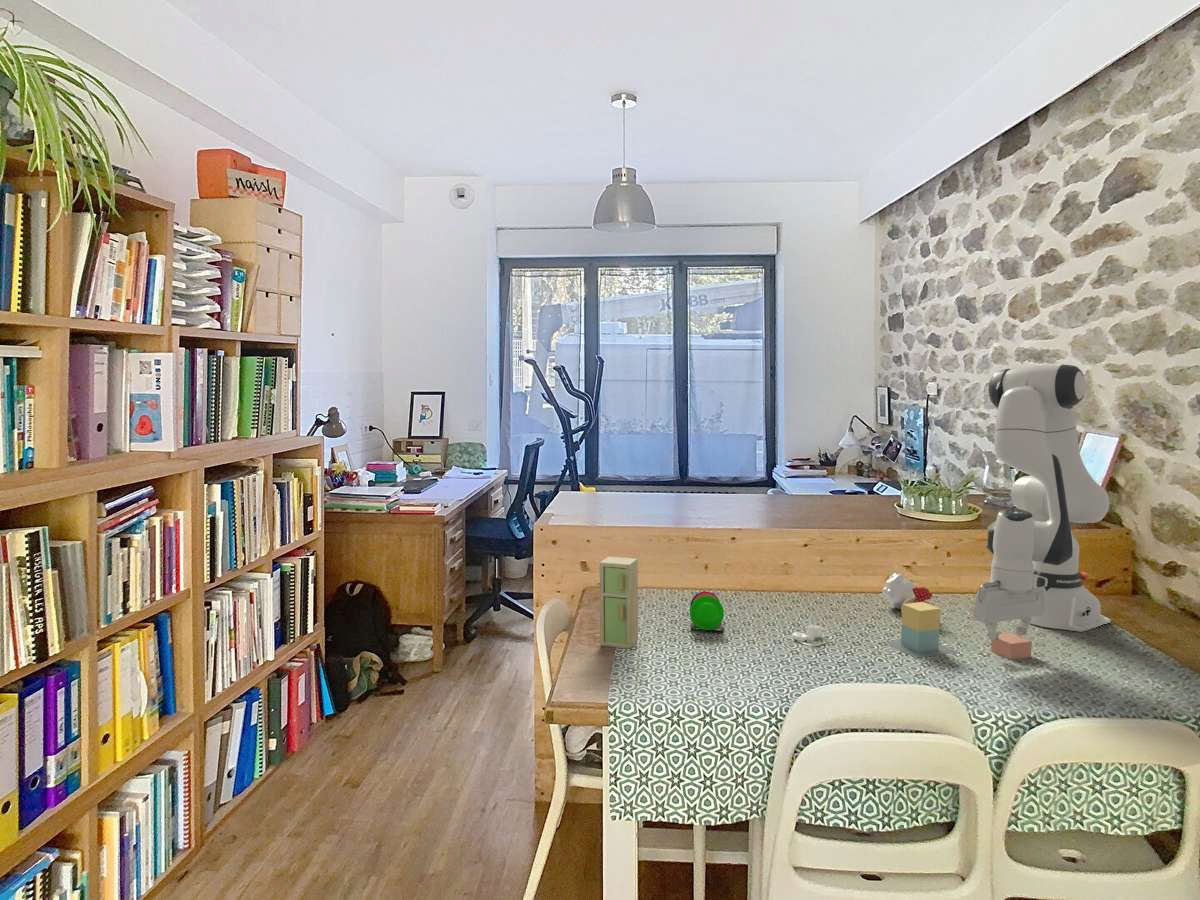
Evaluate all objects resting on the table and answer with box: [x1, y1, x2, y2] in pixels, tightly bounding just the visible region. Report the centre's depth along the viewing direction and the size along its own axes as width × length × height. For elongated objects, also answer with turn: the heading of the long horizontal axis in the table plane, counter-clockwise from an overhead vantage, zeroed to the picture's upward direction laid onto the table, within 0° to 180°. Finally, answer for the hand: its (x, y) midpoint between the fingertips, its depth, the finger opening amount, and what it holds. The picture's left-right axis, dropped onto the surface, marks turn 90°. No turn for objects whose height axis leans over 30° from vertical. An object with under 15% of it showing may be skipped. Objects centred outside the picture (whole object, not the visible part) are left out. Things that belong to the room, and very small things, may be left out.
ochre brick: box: [901, 602, 941, 632], centre depth 200 cm, size 6×6×5 cm
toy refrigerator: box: [599, 556, 639, 649], centre depth 205 cm, size 8×7×21 cm
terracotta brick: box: [990, 632, 1033, 660], centre depth 196 cm, size 6×6×5 cm
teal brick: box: [900, 624, 940, 652], centre depth 200 cm, size 6×6×5 cm
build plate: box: [882, 639, 957, 659], centre depth 201 cm, size 12×12×1 cm
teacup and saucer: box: [791, 624, 827, 647], centre depth 209 cm, size 9×8×4 cm
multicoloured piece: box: [689, 591, 725, 632], centre depth 220 cm, size 9×10×15 cm
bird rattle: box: [900, 586, 933, 614], centre depth 220 cm, size 6×11×9 cm
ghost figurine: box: [881, 573, 917, 610], centre depth 236 cm, size 9×10×10 cm
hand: (1007, 637), depth 196 cm, fingers open, 8 cm apart
